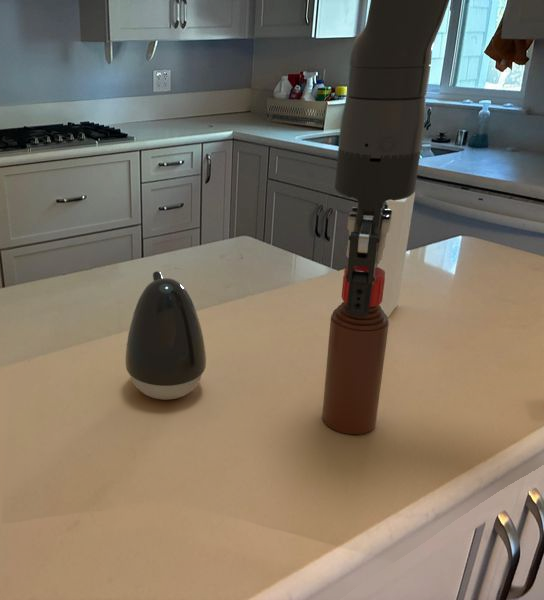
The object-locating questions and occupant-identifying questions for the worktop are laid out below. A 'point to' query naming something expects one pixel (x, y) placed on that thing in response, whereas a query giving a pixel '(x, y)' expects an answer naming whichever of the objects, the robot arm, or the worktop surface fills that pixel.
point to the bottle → (354, 369)
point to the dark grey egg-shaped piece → (165, 341)
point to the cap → (376, 287)
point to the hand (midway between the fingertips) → (359, 305)
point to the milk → (395, 251)
